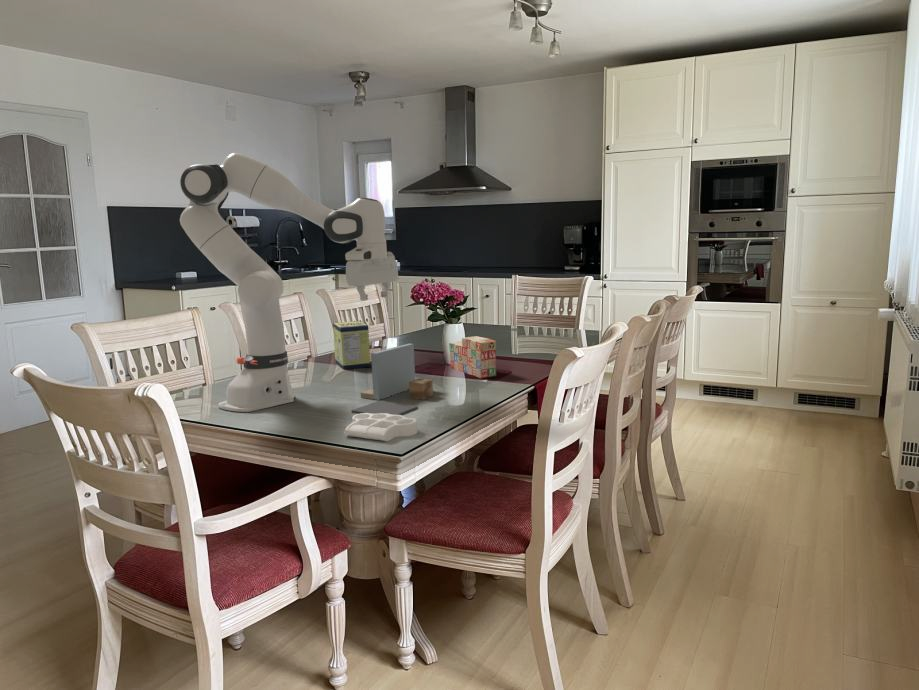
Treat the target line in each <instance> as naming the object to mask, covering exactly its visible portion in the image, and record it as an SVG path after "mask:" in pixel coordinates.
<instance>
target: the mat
mask: <svg viewBox="0 0 919 690" xmlns="http://www.w3.org/2000/svg"><path fill="white" fill-rule="evenodd" d="M417 408H418V409H419V405H414V404H413V405H412V404H405V403H400V402H394V401H386V400H385V401H384V400H376V401H374V402H371V403H368V404H365V405H363V406H360V407H357V408H355V409H352V410H351V413H352V414H360V413H371V414H379V413H388V414H392V415H402V416H403V415H405V414H407V413H410V412H412V411H414V410H418V409H417ZM404 413H405V414H404Z"/></svg>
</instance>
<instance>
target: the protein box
mask: <svg viewBox="0 0 919 690" xmlns="http://www.w3.org/2000/svg"><path fill="white" fill-rule="evenodd" d="M332 327H333V328H332V329H333V332H332V333H333V346H334V360H335V361H334V362H336V363H335V364H337V365H338V366H339V367H340V368H341V369H342V370H343V369H344V370H352V369H362V368H371V354H370V353H371V351H370V349H371V348H370V334H369V331H370V330H369V325H368V324H366V323H364V322H362V321H359V320H354V321H341V322H340V321H339V322H332Z"/></svg>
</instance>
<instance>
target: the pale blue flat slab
mask: <svg viewBox="0 0 919 690" xmlns="http://www.w3.org/2000/svg"><path fill="white" fill-rule="evenodd" d="M414 345H415V344H414V343H406V344H402V345H397V346H394V347H389V348H386V349H382V350H378V351H374V352H370V353H371V354H370V360H371V374H372V375H371V376H372V377H371V378H372V389H371V388H370V389H367V390H365V391H361V392H360V398H362V399H363V398H364V399H369V400H374V399H375V401H379V400H380V399H381V400H383V399H386V398H389V397H392V396H395V395H398V394H400V392H401V393H404V392H406V391H409V390H408V389H409V382H410V381H413V380H416V367H415V363H416V362H415V346H414ZM403 391H404V392H403ZM397 393H398V394H397ZM394 394H395V395H394ZM391 395H392V396H391ZM388 396H389V397H388ZM381 400H380V401H381Z"/></svg>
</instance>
